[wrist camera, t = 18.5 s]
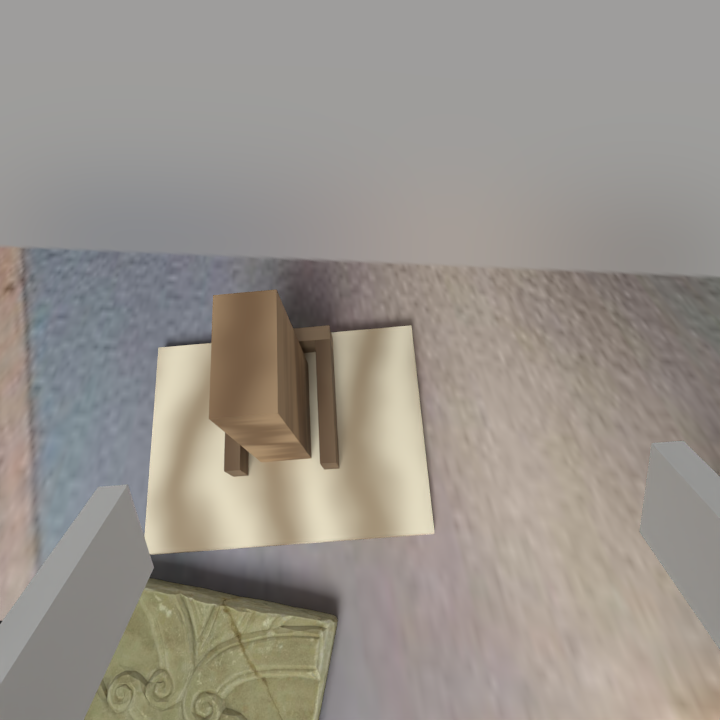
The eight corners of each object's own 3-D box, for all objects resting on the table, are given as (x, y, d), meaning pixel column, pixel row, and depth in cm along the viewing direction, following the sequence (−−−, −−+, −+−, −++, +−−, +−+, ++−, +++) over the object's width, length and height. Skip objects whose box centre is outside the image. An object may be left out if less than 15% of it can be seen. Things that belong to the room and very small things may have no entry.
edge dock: (411, 331, 48) (412, 312, 45) (433, 533, 42) (436, 530, 38) (164, 352, 49) (146, 336, 46) (149, 554, 43) (128, 553, 39)
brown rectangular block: (308, 364, 46) (276, 289, 34) (311, 458, 43) (277, 413, 31) (261, 368, 47) (213, 295, 34) (261, 462, 44) (208, 418, 32)
